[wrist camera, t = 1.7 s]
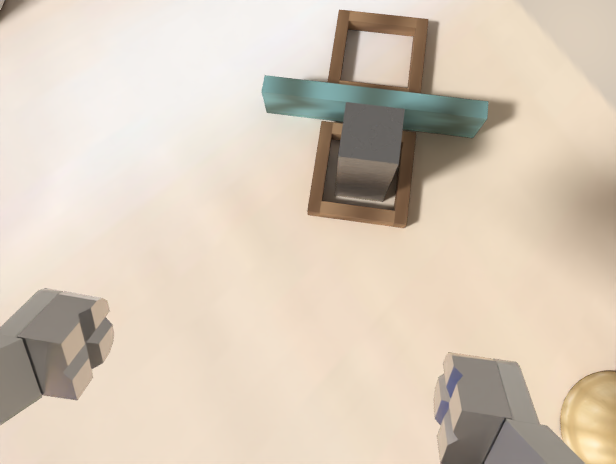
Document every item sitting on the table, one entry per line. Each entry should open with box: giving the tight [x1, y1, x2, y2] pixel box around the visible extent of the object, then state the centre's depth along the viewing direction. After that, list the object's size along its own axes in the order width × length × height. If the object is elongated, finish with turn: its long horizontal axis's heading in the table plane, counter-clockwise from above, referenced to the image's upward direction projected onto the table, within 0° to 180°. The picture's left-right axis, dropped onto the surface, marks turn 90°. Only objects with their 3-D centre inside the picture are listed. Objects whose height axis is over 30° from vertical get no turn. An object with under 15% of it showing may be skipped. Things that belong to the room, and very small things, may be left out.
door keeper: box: [262, 10, 488, 228], centre depth 38 cm, size 18×19×4 cm
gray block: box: [335, 102, 405, 202], centre depth 35 cm, size 4×4×8 cm
